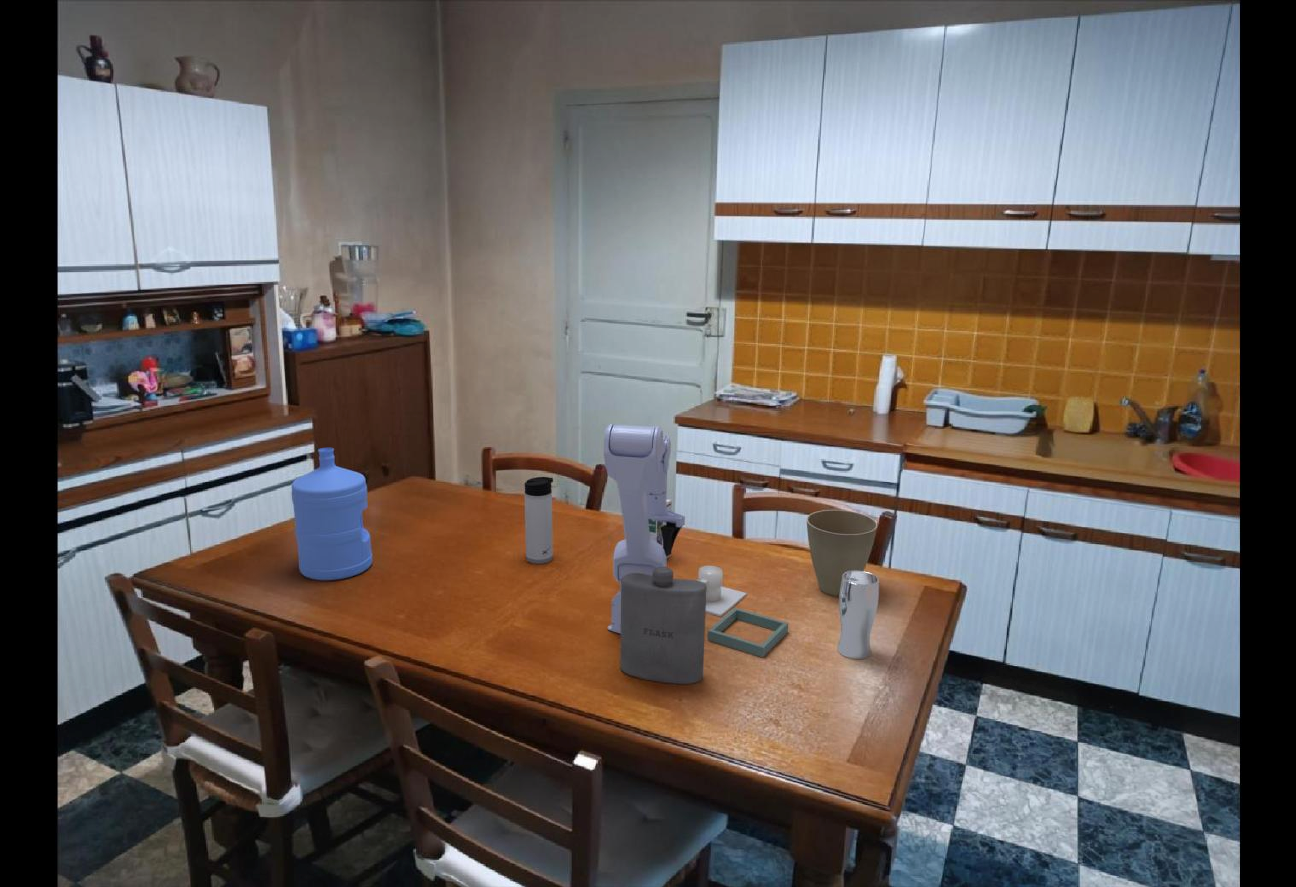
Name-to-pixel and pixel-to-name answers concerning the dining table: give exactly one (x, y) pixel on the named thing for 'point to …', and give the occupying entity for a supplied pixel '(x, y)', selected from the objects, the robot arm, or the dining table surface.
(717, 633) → the holder
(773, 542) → the dining table surface
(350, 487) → the water jug
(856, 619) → the beer glass
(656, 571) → the flask
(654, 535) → the syrup box
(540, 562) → the travel mug
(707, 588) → the jug
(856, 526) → the plant pot
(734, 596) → the mat
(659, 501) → the robot arm
